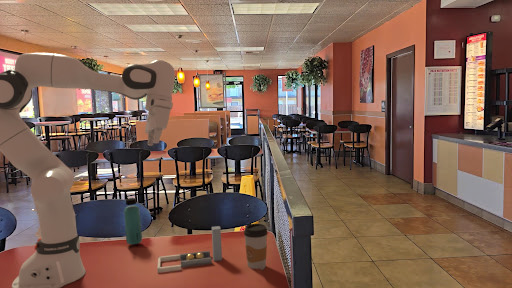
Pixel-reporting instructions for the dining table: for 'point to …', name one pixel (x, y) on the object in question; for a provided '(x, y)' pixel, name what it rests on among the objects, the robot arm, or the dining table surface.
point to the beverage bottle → (132, 222)
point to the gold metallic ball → (189, 257)
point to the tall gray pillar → (216, 243)
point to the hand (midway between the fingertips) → (153, 144)
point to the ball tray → (168, 268)
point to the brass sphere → (199, 256)
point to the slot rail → (195, 262)
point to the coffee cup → (256, 245)
